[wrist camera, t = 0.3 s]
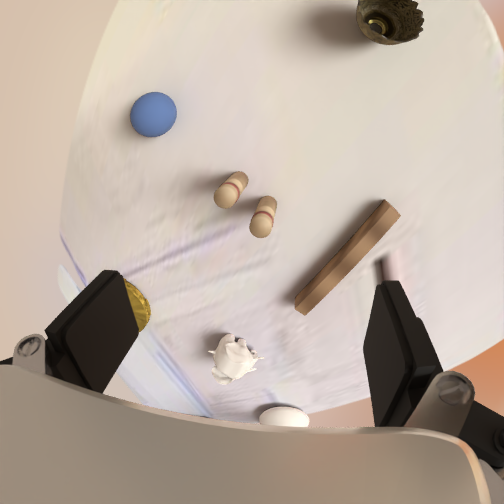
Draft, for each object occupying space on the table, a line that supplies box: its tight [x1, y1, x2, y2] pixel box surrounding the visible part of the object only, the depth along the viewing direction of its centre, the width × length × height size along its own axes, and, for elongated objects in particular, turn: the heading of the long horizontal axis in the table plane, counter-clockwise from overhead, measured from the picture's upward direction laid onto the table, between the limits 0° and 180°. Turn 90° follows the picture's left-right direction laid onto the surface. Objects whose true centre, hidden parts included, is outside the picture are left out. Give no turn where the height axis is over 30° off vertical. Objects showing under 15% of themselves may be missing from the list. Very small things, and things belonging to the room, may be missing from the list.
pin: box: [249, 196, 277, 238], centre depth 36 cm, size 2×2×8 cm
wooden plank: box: [295, 200, 401, 315], centre depth 40 cm, size 20×2×3 cm, turn 146°
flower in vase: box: [259, 407, 309, 427], centre depth 49 cm, size 13×11×25 cm
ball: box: [130, 92, 177, 137], centre depth 34 cm, size 6×6×6 cm
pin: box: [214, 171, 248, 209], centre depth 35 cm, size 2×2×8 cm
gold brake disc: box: [124, 279, 151, 332], centre depth 52 cm, size 12×12×2 cm
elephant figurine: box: [208, 334, 264, 385], centre depth 49 cm, size 8×10×7 cm
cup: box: [356, 0, 424, 45], centre depth 23 cm, size 8×7×8 cm
